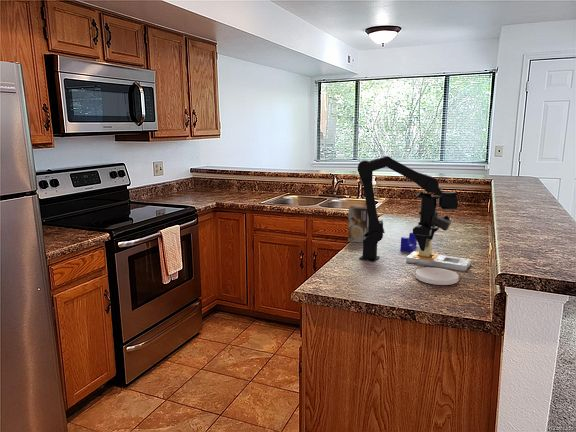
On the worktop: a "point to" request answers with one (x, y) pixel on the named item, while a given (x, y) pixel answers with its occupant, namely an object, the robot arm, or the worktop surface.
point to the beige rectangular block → (427, 249)
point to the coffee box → (357, 223)
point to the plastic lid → (437, 276)
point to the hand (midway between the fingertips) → (425, 248)
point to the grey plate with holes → (440, 261)
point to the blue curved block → (408, 243)
